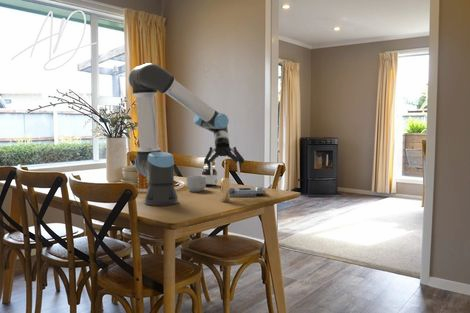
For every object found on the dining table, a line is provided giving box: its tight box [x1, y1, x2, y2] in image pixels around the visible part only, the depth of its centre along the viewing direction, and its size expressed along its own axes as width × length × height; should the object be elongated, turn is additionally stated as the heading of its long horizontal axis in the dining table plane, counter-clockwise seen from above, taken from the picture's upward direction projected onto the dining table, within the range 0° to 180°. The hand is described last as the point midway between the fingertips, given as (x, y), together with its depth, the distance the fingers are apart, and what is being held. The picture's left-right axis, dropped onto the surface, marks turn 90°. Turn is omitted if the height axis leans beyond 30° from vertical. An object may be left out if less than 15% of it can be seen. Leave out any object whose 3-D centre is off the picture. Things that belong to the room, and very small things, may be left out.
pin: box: [220, 177, 231, 203], centre depth 195 cm, size 4×4×11 cm
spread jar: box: [201, 165, 218, 188], centre depth 242 cm, size 12×11×12 cm
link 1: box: [230, 187, 257, 198], centre depth 212 cm, size 15×10×4 cm, turn 98°
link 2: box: [233, 186, 267, 196], centre depth 213 cm, size 15×10×4 cm, turn 98°
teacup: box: [185, 174, 207, 193], centre depth 226 cm, size 14×11×8 cm
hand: (225, 173), depth 203 cm, fingers open, 13 cm apart
